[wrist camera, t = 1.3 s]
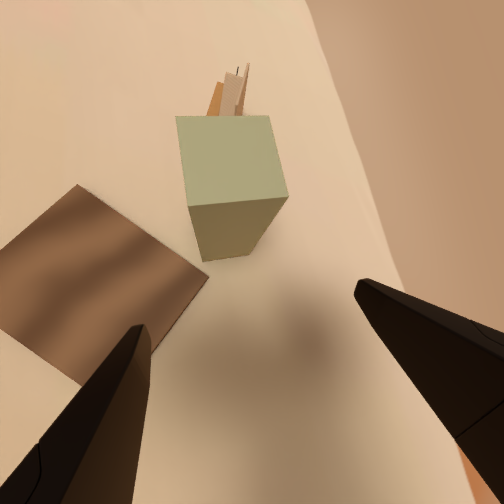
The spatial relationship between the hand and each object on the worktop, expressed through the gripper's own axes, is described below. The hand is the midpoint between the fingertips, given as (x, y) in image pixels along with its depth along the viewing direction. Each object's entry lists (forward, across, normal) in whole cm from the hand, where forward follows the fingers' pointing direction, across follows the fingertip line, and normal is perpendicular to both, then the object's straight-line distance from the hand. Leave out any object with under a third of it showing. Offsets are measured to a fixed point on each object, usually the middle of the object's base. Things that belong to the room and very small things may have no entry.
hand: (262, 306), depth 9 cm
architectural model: (+24, -3, -4) cm, 25 cm away
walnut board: (+13, +12, +6) cm, 19 cm away
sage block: (+15, 0, +4) cm, 15 cm away
